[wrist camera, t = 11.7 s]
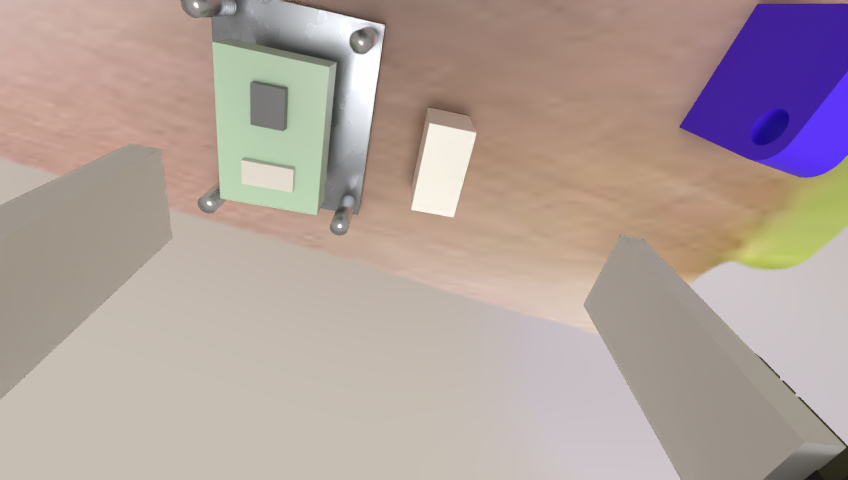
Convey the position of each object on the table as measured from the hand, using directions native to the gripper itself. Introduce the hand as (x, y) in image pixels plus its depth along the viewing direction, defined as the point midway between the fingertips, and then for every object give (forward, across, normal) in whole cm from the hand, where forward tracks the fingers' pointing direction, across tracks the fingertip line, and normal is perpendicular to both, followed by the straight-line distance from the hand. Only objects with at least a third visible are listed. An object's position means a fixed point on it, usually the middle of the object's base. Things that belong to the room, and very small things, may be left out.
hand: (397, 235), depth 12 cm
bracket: (+29, +36, +6) cm, 47 cm away
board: (+24, -10, -5) cm, 26 cm away
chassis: (+29, -10, -5) cm, 31 cm away
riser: (+29, +4, -6) cm, 30 cm away
